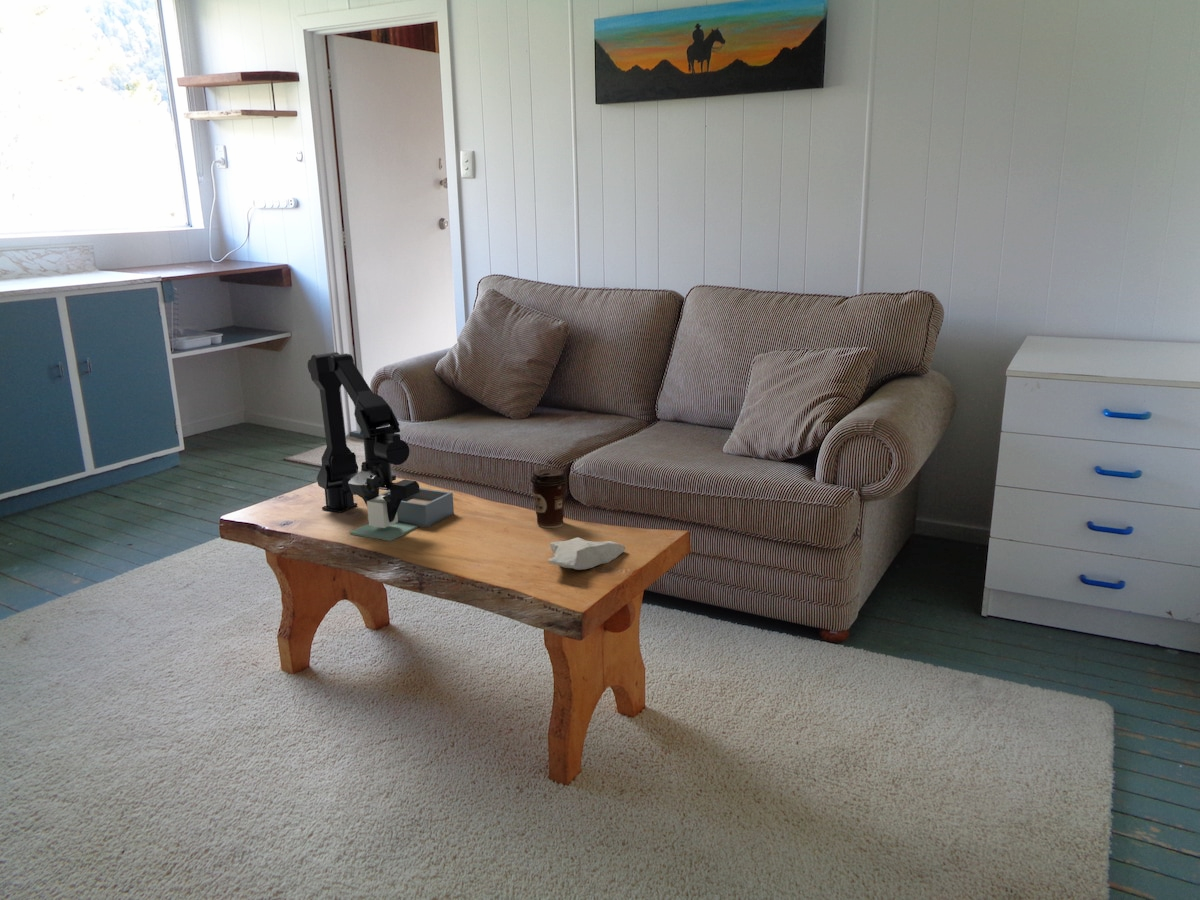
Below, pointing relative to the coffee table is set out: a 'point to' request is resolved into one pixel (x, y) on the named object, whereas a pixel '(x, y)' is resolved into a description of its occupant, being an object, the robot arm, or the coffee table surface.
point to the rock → (584, 553)
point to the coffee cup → (549, 497)
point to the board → (384, 531)
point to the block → (379, 513)
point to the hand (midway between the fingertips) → (383, 520)
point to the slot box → (425, 507)
